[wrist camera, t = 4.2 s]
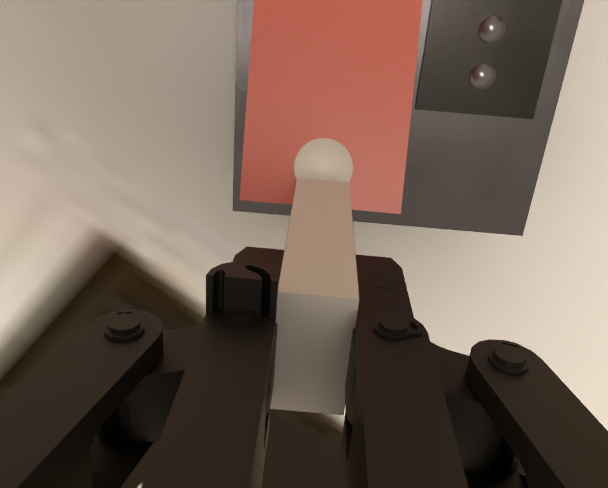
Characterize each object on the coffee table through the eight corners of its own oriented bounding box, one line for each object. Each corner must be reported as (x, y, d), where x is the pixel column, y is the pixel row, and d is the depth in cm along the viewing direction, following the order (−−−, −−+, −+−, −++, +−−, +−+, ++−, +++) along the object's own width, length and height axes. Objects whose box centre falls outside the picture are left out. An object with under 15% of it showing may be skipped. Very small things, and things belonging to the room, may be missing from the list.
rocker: (269, -110, 19) (264, -146, 16) (423, -97, 18) (436, -131, 16) (247, 198, 20) (239, 200, 18) (391, 210, 20) (401, 214, 18)
